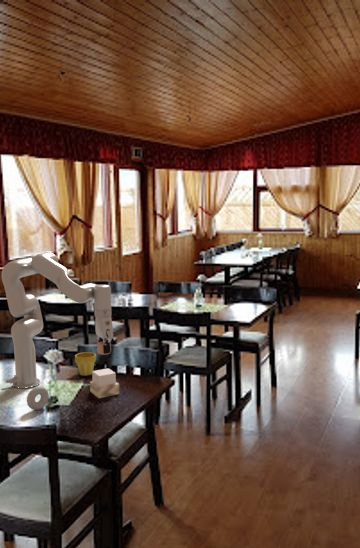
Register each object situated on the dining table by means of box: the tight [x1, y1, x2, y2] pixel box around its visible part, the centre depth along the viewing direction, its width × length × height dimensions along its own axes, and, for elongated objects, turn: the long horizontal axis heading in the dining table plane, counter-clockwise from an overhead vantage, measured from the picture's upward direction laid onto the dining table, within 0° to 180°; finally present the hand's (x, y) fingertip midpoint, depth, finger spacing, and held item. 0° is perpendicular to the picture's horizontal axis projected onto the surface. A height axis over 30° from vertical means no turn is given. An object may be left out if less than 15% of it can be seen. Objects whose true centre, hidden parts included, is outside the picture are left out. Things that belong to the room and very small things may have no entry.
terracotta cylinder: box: [96, 341, 112, 356], centre depth 248 cm, size 6×6×4 cm
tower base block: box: [89, 380, 120, 399], centre depth 250 cm, size 10×10×5 cm
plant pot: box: [74, 351, 97, 377], centre depth 276 cm, size 10×10×10 cm
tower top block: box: [91, 368, 117, 387], centre depth 249 cm, size 8×8×5 cm
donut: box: [26, 385, 50, 411], centre depth 230 cm, size 10×4×10 cm, turn 135°
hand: (104, 351), depth 248 cm, fingers closed on terracotta cylinder, 6 cm apart
